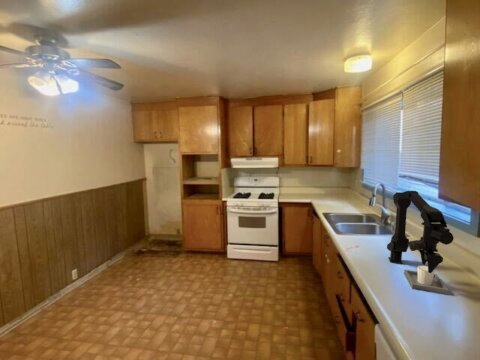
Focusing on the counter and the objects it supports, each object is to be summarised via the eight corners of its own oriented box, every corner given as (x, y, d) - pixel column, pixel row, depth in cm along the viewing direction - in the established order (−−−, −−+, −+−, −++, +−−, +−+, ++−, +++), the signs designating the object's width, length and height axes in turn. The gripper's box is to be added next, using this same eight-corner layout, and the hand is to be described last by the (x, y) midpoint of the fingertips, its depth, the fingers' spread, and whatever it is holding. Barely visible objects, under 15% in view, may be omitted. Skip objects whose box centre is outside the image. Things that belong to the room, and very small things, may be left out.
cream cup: (417, 277, 137) (418, 263, 136) (433, 281, 132) (435, 268, 131) (415, 282, 131) (416, 268, 130) (432, 287, 127) (434, 273, 126)
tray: (404, 273, 141) (404, 269, 141) (436, 278, 137) (436, 274, 137) (412, 288, 126) (412, 284, 126) (448, 294, 122) (448, 290, 122)
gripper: (405, 229, 140) (402, 258, 142) (415, 241, 122) (412, 274, 124) (431, 231, 136) (427, 261, 138) (445, 244, 119) (441, 278, 121)
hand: (426, 268), depth 131 cm, fingers open, 9 cm apart
